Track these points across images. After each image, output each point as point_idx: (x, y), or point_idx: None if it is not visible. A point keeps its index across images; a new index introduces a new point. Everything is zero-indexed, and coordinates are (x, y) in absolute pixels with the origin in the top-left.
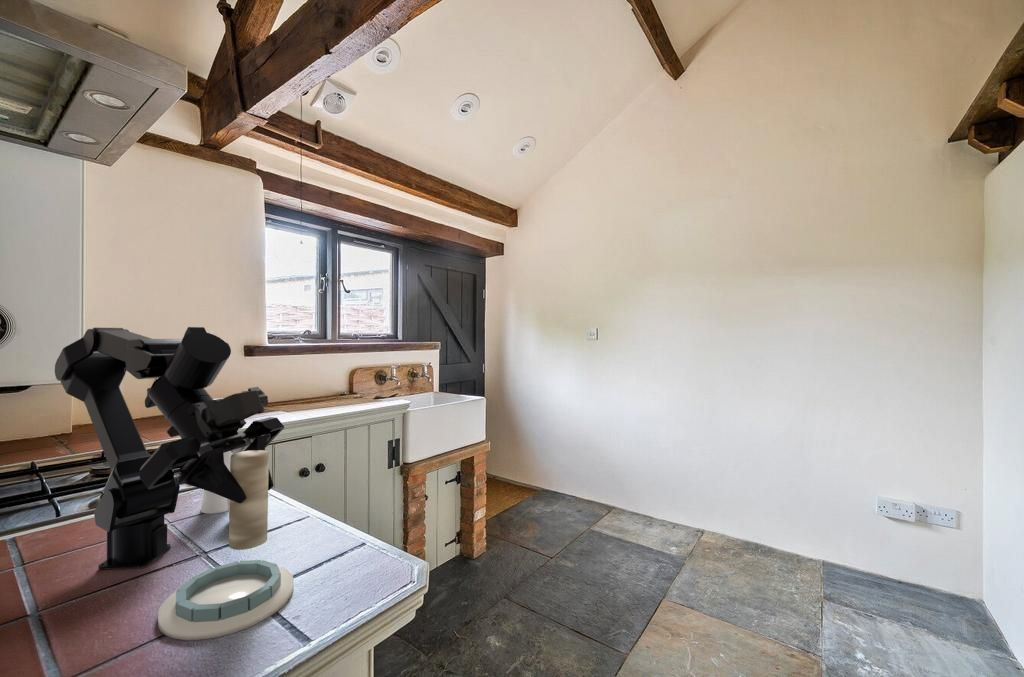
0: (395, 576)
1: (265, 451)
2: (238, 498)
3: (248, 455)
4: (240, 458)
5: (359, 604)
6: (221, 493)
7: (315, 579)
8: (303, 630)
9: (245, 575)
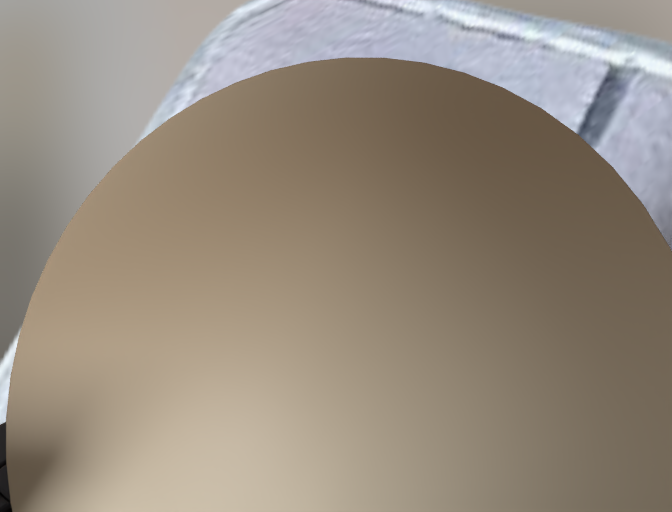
0: (292, 36)
1: (86, 237)
2: None
3: (391, 330)
4: (644, 330)
5: (436, 48)
6: None
7: None
8: (581, 111)
9: None
